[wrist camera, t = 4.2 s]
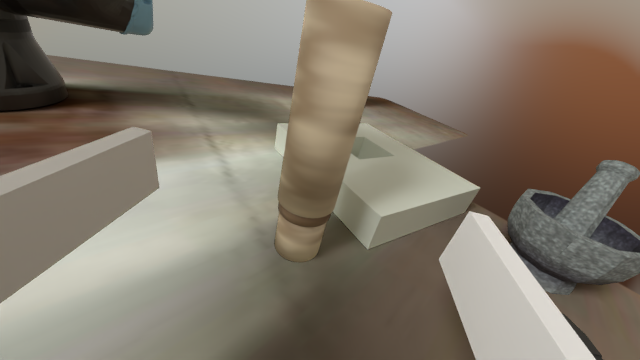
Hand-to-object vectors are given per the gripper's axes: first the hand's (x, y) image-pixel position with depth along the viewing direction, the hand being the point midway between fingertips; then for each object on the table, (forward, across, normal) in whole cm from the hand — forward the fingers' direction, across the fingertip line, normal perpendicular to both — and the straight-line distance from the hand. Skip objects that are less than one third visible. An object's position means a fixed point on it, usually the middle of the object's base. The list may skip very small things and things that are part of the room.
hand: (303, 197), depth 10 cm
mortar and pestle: (+13, +25, -11) cm, 30 cm away
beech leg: (+8, 0, -10) cm, 13 cm away
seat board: (+24, +6, -10) cm, 26 cm away
